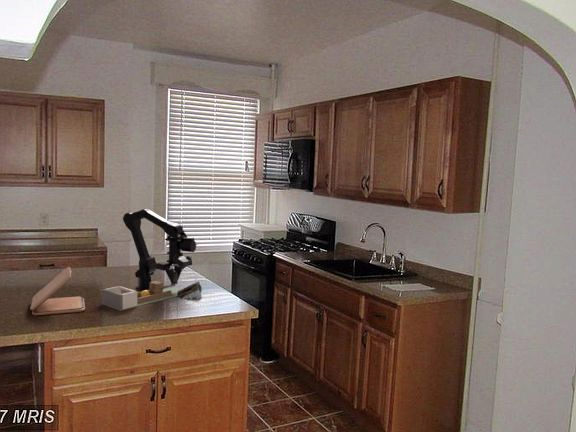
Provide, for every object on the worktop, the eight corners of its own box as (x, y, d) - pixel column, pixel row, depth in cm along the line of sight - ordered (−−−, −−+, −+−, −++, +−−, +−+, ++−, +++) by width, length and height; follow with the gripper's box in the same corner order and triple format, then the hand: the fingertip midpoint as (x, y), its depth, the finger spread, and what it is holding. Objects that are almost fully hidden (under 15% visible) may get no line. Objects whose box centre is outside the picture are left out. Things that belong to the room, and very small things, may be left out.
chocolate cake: (177, 301, 231) (196, 284, 231) (175, 293, 237) (193, 277, 237) (190, 312, 236) (209, 295, 236) (188, 304, 242) (206, 288, 242)
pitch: (102, 304, 220) (102, 298, 219) (172, 288, 252) (172, 283, 251) (120, 310, 212) (120, 304, 212) (190, 293, 244) (190, 287, 244)
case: (32, 302, 218) (32, 267, 216) (84, 299, 227) (84, 264, 225) (29, 317, 200) (28, 278, 198) (85, 313, 208) (85, 275, 206)
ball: (138, 298, 230) (138, 290, 229) (145, 296, 233) (145, 288, 233) (144, 300, 227) (144, 291, 227) (151, 298, 231) (151, 290, 230)
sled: (149, 294, 235) (149, 275, 234) (173, 289, 247) (173, 270, 246) (156, 296, 232) (156, 277, 231) (179, 291, 244) (180, 272, 243)
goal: (102, 303, 220) (102, 289, 219) (119, 299, 227) (119, 285, 226) (120, 310, 212) (120, 295, 211) (137, 305, 219) (137, 291, 218)
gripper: (171, 255, 230) (170, 287, 231) (200, 250, 245) (199, 280, 247) (155, 251, 236) (155, 283, 238) (184, 246, 251) (184, 276, 253)
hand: (174, 281), depth 244 cm, fingers closed on sled, 3 cm apart
